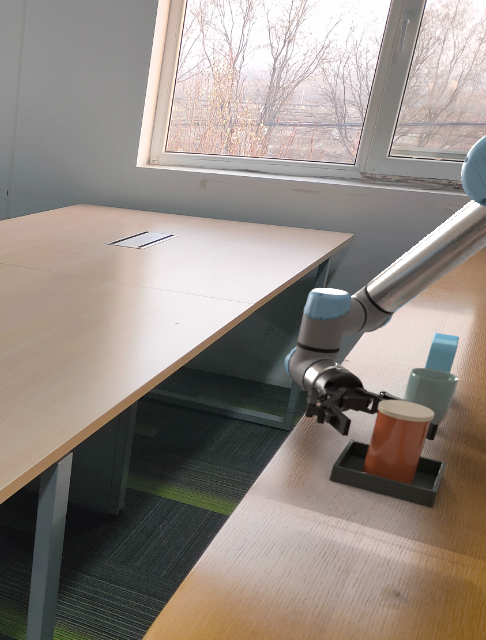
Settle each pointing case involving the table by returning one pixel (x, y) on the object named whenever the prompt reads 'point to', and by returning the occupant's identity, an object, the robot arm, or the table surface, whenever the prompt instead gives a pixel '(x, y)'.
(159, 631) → the table surface
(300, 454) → the table surface
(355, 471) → the tray
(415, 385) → the cup
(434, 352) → the blue upright block
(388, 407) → the orange lidded canister
